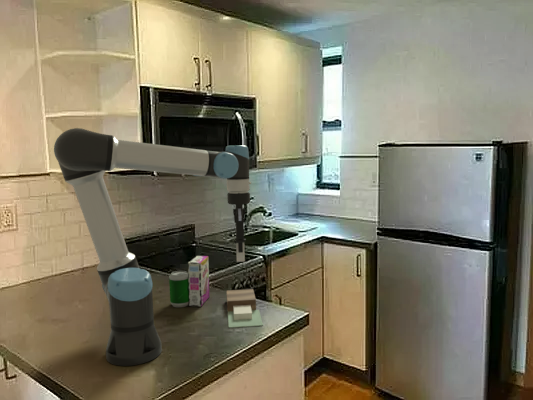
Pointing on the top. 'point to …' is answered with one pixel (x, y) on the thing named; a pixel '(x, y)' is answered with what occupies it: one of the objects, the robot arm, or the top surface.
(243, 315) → the ivory tile
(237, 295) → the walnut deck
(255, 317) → the sage mat
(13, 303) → the top surface
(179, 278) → the soda can
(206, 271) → the candy bar box
